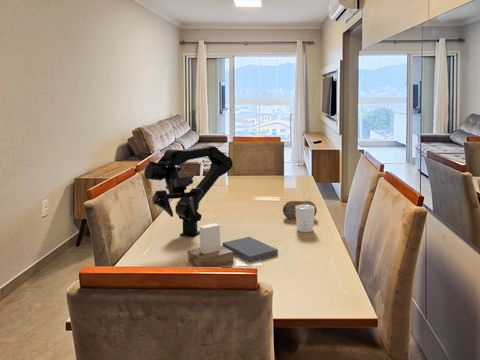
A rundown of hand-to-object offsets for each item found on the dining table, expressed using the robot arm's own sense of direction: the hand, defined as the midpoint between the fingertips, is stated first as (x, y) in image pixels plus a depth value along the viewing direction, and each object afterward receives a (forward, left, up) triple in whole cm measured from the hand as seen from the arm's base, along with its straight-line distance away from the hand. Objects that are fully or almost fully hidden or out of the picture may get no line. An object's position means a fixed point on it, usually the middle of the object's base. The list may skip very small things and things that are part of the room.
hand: (184, 215), depth 168 cm
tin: (-53, +28, -13) cm, 62 cm away
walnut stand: (+10, +16, -13) cm, 22 cm away
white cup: (-37, +35, -13) cm, 53 cm away
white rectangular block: (+10, +16, -9) cm, 21 cm away
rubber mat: (-5, +24, -13) cm, 27 cm away
